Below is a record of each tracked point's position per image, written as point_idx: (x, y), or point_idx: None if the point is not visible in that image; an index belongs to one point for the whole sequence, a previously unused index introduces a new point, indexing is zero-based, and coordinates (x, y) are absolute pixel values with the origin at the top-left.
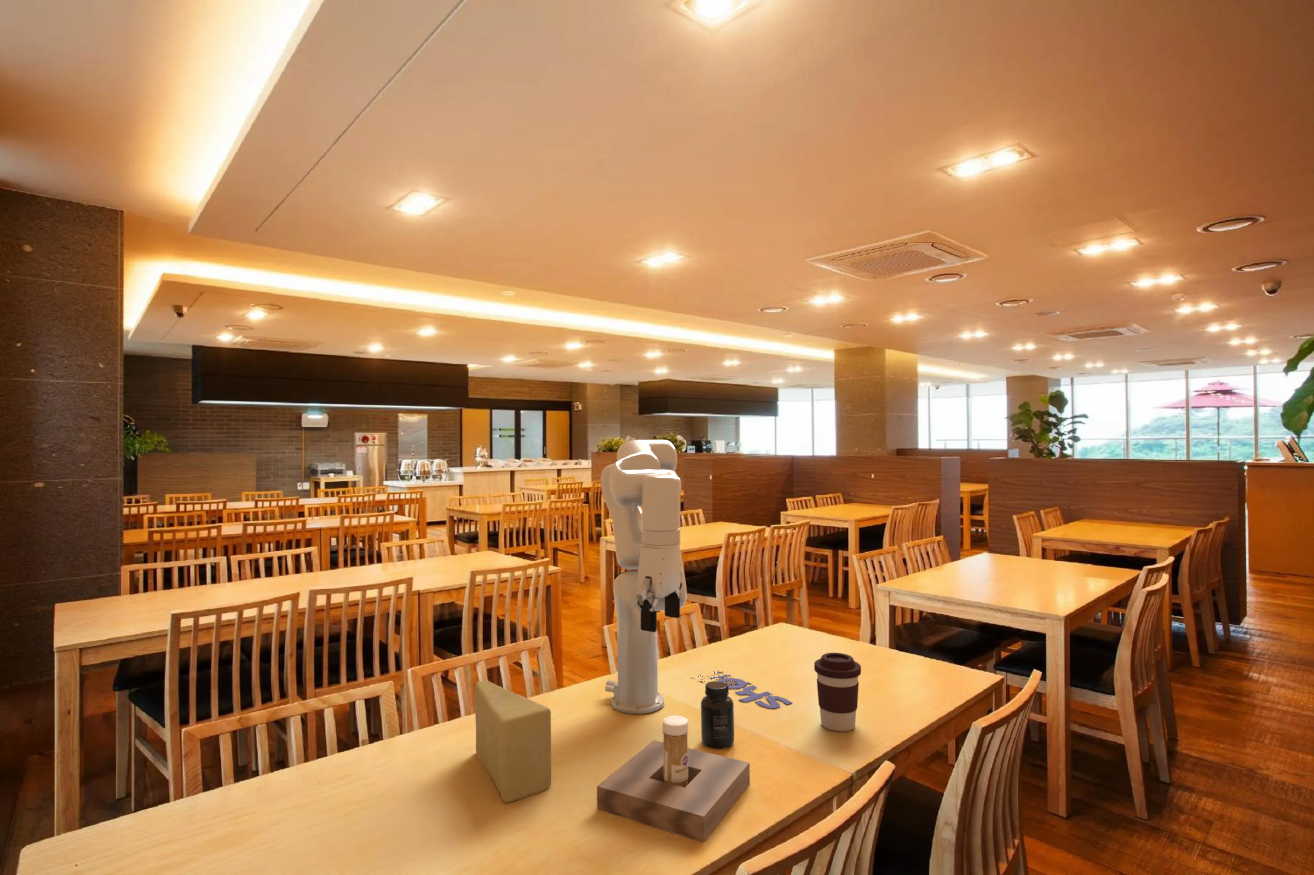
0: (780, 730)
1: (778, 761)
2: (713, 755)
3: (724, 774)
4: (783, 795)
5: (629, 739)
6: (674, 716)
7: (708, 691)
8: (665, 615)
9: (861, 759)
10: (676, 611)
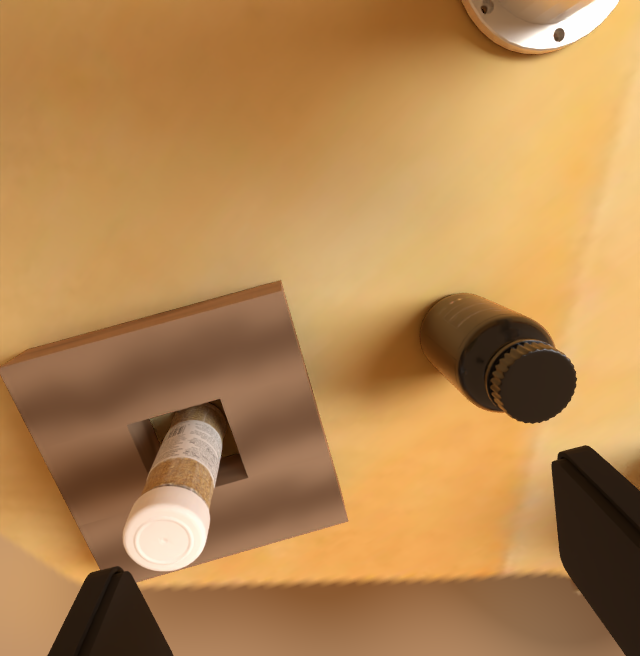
0: (598, 393)
1: (460, 473)
2: (321, 452)
3: (267, 519)
4: (349, 549)
5: (325, 138)
6: (179, 524)
7: (494, 377)
8: (553, 464)
9: (559, 565)
10: (599, 604)
